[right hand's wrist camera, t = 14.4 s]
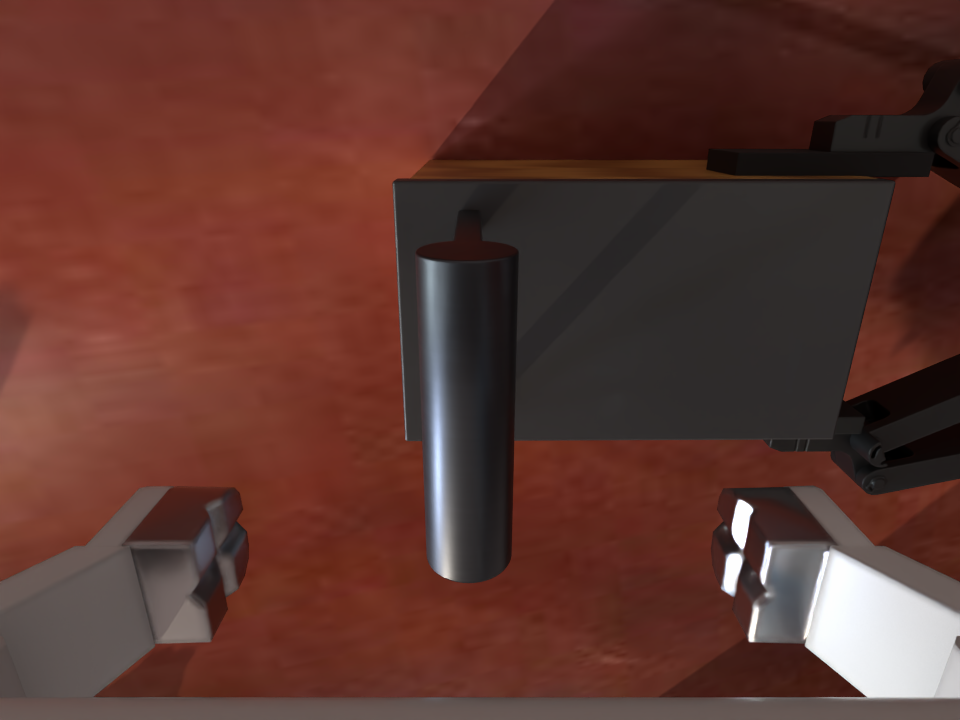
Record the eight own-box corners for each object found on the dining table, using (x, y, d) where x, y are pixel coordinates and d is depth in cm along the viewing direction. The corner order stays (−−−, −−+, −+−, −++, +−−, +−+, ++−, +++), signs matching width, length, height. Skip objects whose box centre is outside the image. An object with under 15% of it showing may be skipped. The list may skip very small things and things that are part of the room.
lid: (407, 430, 23) (370, 608, 14) (395, 178, 19) (337, 222, 11) (821, 429, 23) (1018, 603, 15) (880, 178, 19) (1178, 221, 11)
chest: (434, 344, 31) (419, 430, 23) (429, 159, 28) (409, 178, 19) (725, 343, 31) (821, 428, 23) (754, 159, 28) (879, 178, 19)
